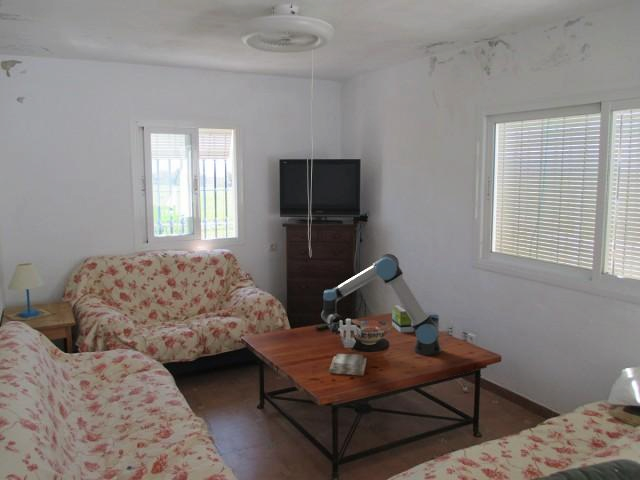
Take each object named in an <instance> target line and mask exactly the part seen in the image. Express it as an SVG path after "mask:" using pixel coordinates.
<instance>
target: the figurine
mask: <svg viewBox="0 0 640 480" xmlns="http://www.w3.org/2000/svg"><path fill="white" fill-rule="evenodd" d="M351 321H352V319H351V318H346V319H345V322H346V325H343V321H342V320H340V329H341V330H342V331H343V332H344V331H345V336H344V337H340V340H341V342H342V344H343V347H344V348H345V349H346V348H347V349H348V348H349V349H352V348H354V346H355V344H356V343H357V341H356V339H355V337H353V336H354V335H355V336H357V335H358V333H357V326H356V325H351ZM351 331H353V336H352V337H351V334H352V332H351Z"/></svg>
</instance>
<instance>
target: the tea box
mask: <svg viewBox="0 0 640 480" xmlns="http://www.w3.org/2000/svg"><path fill="white" fill-rule="evenodd" d="M391 310H392V312H391V316H392V317H391V319H392V321H391V326H392V327H393V328H395V330H397V332H399V333H402V334H403V333H412V332H415V331H414V329H413V327H412V326H411V323H412V321H411V319H410V317H409V316H408V314H407V313H406V311H405V309H404V308H403V306H402V305H401V304H397V305H392V307H391Z"/></svg>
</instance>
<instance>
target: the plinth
mask: <svg viewBox="0 0 640 480" xmlns="http://www.w3.org/2000/svg"><path fill="white" fill-rule="evenodd" d="M366 365H367V358H366V357H363V354H353V353H351V354H350V353H336V356H335V355H334V356H333V358H332V361H331V364H330V366H329V369H328V370H329V371H328V373H329V374H336V375H337V374H339V375H350V374H351V376H352V375H353V376H354V375H355V376H364V374H365V371H366V367H367V366H366Z"/></svg>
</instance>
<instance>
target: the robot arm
mask: <svg viewBox="0 0 640 480" xmlns="http://www.w3.org/2000/svg"><path fill="white" fill-rule="evenodd" d="M403 275H404V272H403V271H402V268H401V267H400V262H399V259H398V258H397V257H396V255H395V254H391V253H386V254H384V255H382V256H381V257H380V258H379V259H377V260H376V261H374V262H373V264H372V265H370V266H369V267H367V268H365V269H364V270H362V271H361V272H359V273H357V274H356V275H353V276H352V277H351V278H349V279H347V280H345V281H343V282H342V283H340V284H339V285H337V286H335V287H333V288H331V289H325V290H324V291H323V296H322V297H323V310H322V312H321V313H320V315H321V316H320V317H321V319H322V320H323V321H324V322H325V323H327V324H328V329H329V330H330V332H331V334H335V335H339V336H340V337H341V338H345V332H344V331H342V330H341V329H340V320H342V321H343V325H346V320H345V319H344V318H343V317H342V316H340V315H339V314H338V313H337V304H338V302H339V301H340V300H341V299H342V298H345V297H346V296H348V295H349V294H351V293H353V292H355V291H356V290H358V289H360V288H361V287H363V286H365V285H367V284H369V283H370V282H372V281H373V280H375V279H377V278H378V277H379V278H380V279H381V280H382V281H383V283H384V284H385V285H388V286H389V287H390V288H391V290H392V292H393V293H394V295H395V297H396V299H397V300H398V302H399V303H400V305H402V306H403V308H404V309H405V311H406V313H407V314H408V316H409V317H410V319H411V321H412V323H411V326H412V327H413V329H414V331H413V332H415V337H416V341H415V345H414V352H415V353H417V354H418V355H422V356H437V355H439V354H441V353H442V352H441V350H442V349H441V345H440V342H439V325H440V324H439V321H440V316H439V314H438V313H436V312H426V311H424V310H423V307H422V306H421V305H420V303H419V301H418V300H417V298H416V296H415V295H414V294H413V292H412V290H411V289H410V287H409V286H408V284H407V282H406V281H405V279H404V278H403V277H404V276H403ZM351 325H356V326H357V335H359V336H361V335H362V329H361V325H360V324H358V323H355V322H353V321H352V320H351Z"/></svg>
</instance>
